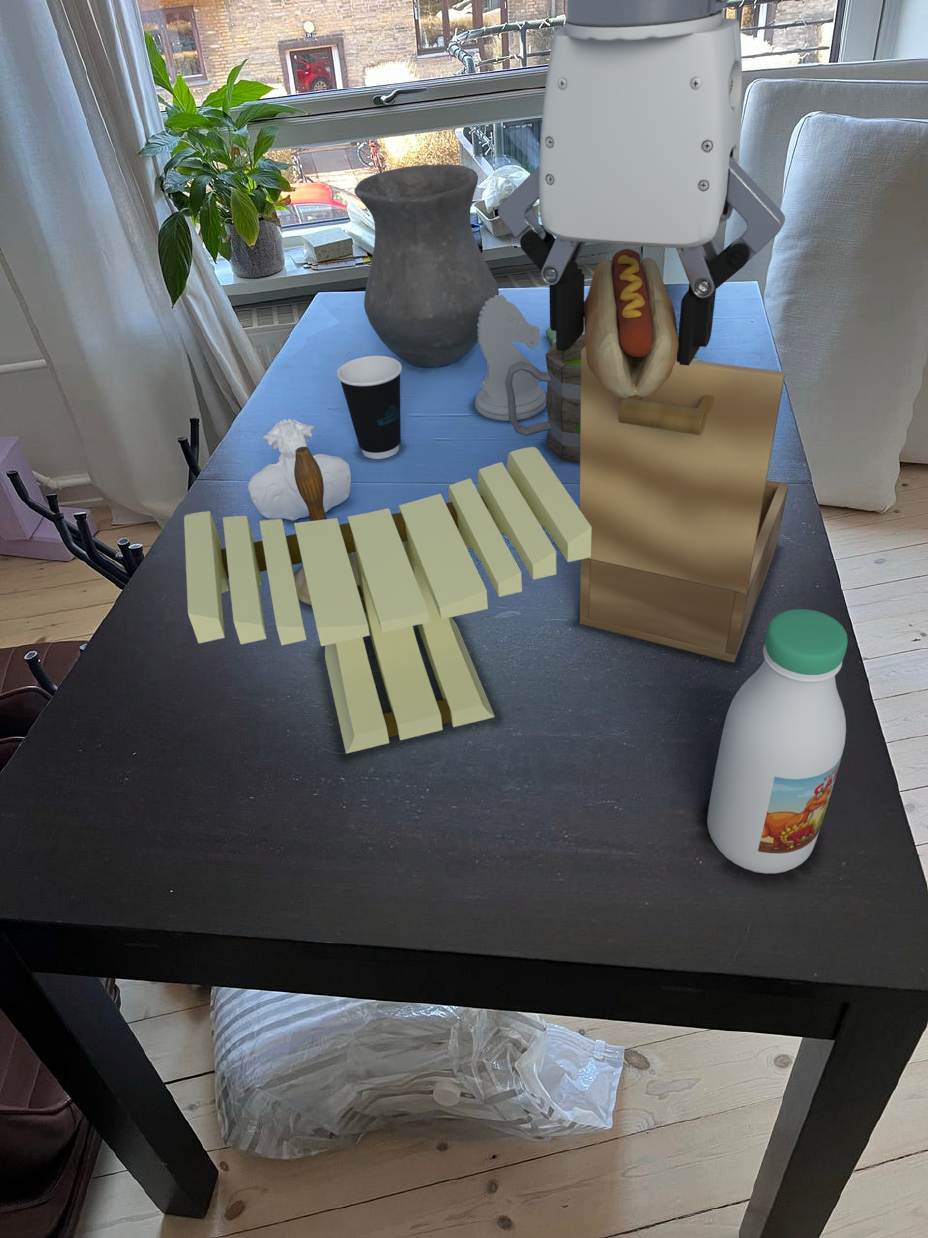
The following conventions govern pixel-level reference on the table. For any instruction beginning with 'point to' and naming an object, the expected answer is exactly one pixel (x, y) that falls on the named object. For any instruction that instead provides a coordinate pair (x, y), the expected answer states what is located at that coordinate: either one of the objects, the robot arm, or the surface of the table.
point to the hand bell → (312, 507)
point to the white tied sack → (277, 481)
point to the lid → (679, 471)
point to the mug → (555, 400)
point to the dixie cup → (374, 403)
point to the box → (681, 597)
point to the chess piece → (506, 361)
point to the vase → (425, 263)
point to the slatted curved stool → (390, 588)
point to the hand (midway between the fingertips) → (628, 346)
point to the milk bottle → (781, 747)
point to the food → (629, 326)
